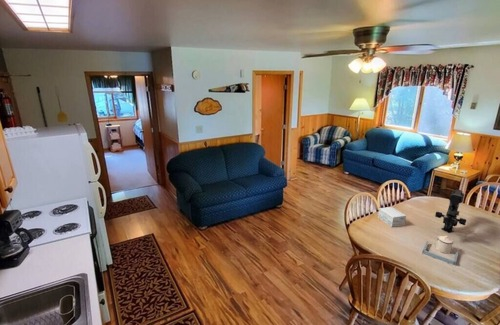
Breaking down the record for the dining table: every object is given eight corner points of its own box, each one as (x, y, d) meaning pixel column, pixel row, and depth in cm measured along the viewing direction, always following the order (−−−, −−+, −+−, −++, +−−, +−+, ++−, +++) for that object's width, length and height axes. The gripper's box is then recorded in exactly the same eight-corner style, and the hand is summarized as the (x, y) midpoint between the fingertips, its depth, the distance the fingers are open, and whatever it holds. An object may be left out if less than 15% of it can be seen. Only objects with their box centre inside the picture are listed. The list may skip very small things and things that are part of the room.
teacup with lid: (453, 253, 191) (457, 239, 187) (441, 254, 190) (445, 240, 187) (441, 243, 202) (445, 230, 198) (429, 243, 202) (433, 230, 198)
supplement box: (404, 225, 227) (406, 215, 224) (391, 227, 223) (393, 217, 220) (389, 215, 242) (391, 206, 239) (377, 217, 239) (379, 208, 236)
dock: (426, 243, 202) (426, 240, 201) (457, 254, 190) (458, 251, 189) (422, 253, 191) (422, 250, 190) (455, 265, 179) (456, 262, 178)
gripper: (438, 201, 205) (432, 220, 201) (469, 209, 193) (464, 229, 189) (438, 207, 213) (432, 225, 209) (467, 215, 201) (462, 234, 197)
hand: (447, 228), depth 201 cm, fingers closed
